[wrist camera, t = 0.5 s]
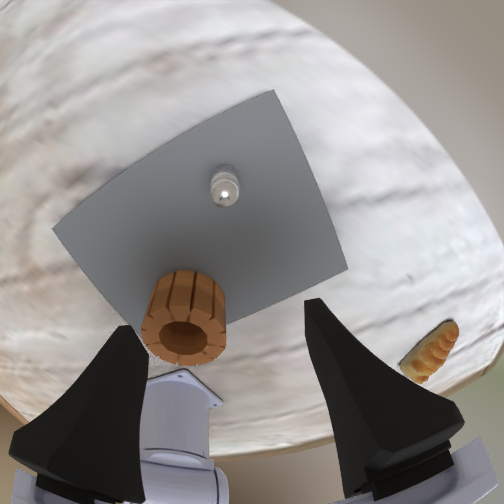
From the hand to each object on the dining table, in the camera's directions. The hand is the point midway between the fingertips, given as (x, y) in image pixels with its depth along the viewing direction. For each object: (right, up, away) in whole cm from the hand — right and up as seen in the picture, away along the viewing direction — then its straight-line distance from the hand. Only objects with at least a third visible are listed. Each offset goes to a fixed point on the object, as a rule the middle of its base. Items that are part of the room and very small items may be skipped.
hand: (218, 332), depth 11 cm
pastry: (+25, -9, +20) cm, 33 cm away
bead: (-3, -1, +10) cm, 10 cm away
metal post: (0, +8, +6) cm, 10 cm away
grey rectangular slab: (-2, +4, +9) cm, 10 cm away
